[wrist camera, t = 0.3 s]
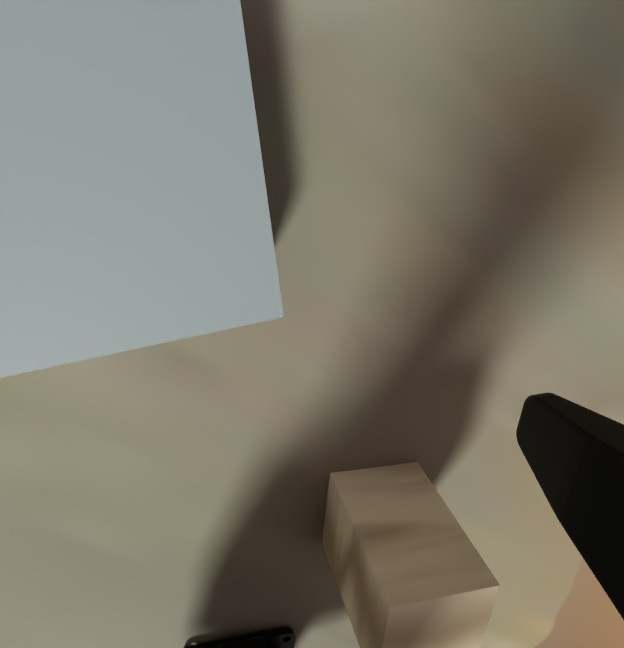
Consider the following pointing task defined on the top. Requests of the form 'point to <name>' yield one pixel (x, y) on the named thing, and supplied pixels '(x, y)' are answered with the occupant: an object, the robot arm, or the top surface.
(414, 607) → the birch block
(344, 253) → the top surface
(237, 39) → the base block
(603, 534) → the robot arm
